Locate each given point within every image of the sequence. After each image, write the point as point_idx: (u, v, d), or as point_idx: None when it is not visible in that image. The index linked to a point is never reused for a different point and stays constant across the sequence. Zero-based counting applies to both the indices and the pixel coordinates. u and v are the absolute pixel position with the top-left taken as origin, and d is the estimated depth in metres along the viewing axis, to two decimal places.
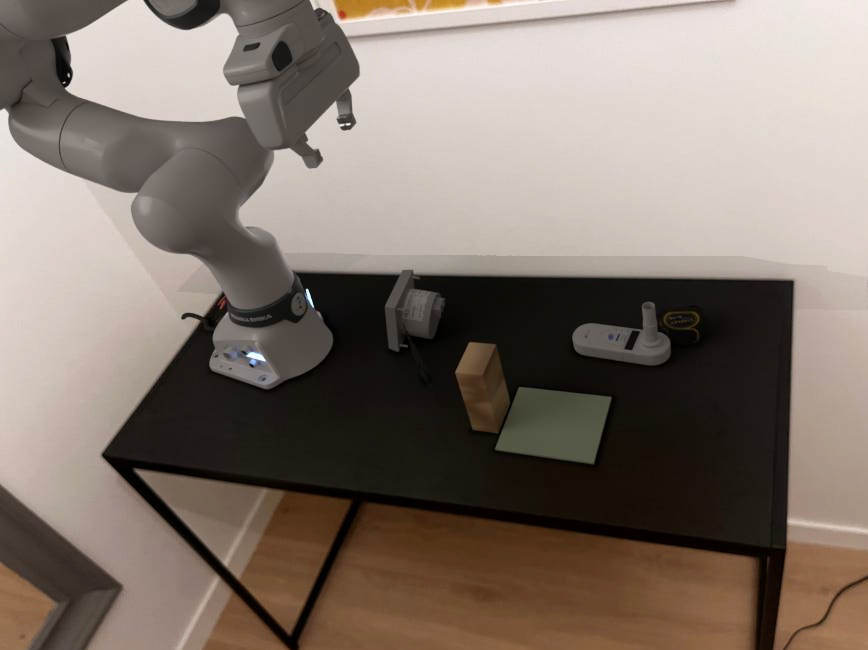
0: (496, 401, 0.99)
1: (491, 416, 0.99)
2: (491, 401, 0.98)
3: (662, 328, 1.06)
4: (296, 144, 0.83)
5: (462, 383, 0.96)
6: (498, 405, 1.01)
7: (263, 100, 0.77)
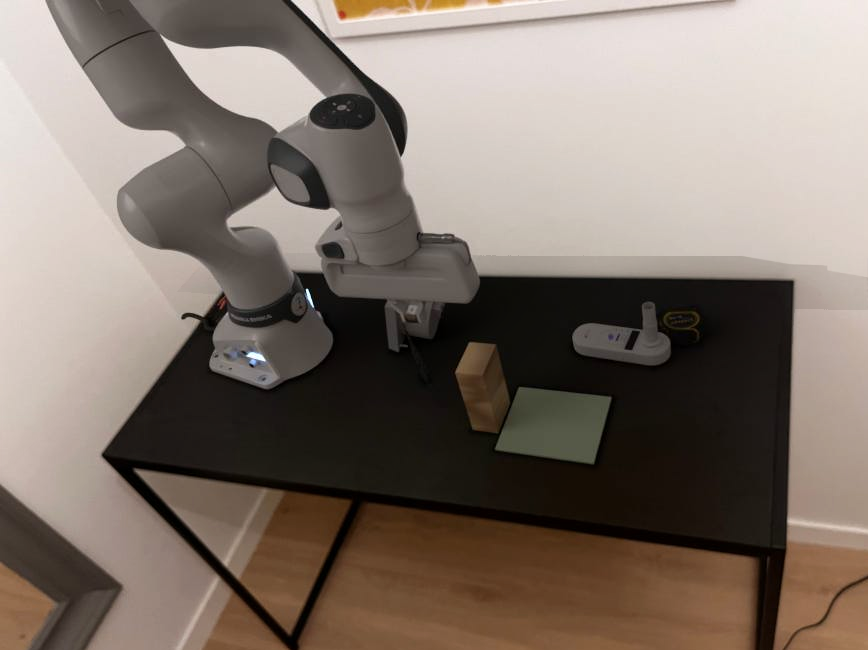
0: (496, 401, 0.99)
1: (491, 416, 0.99)
2: (491, 401, 0.98)
3: (662, 328, 1.06)
4: None
5: (462, 383, 0.96)
6: (498, 405, 1.01)
7: None
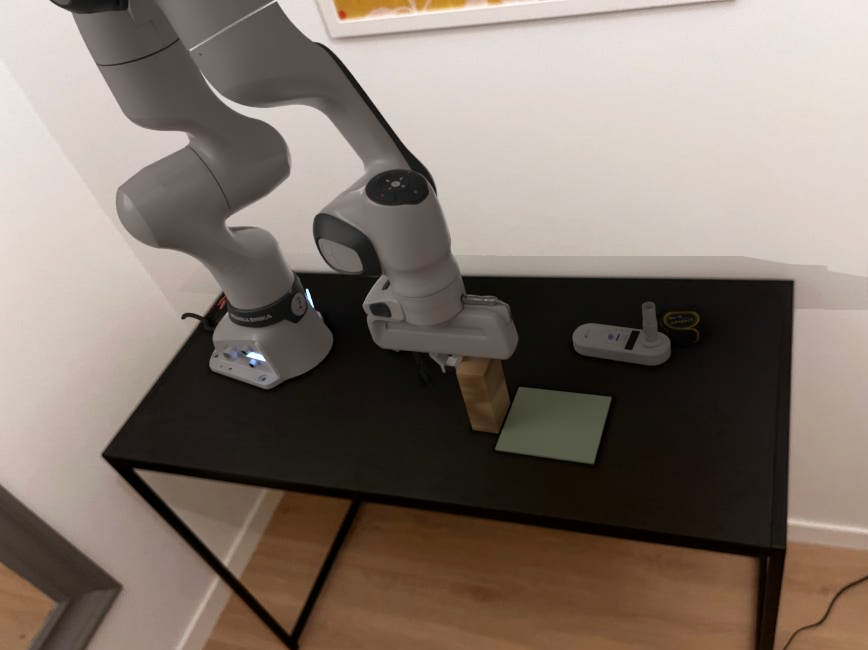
0: (496, 402, 0.99)
1: (492, 416, 0.99)
2: (491, 402, 0.98)
3: (662, 328, 1.06)
4: None
5: (463, 383, 0.96)
6: (498, 405, 1.01)
7: None
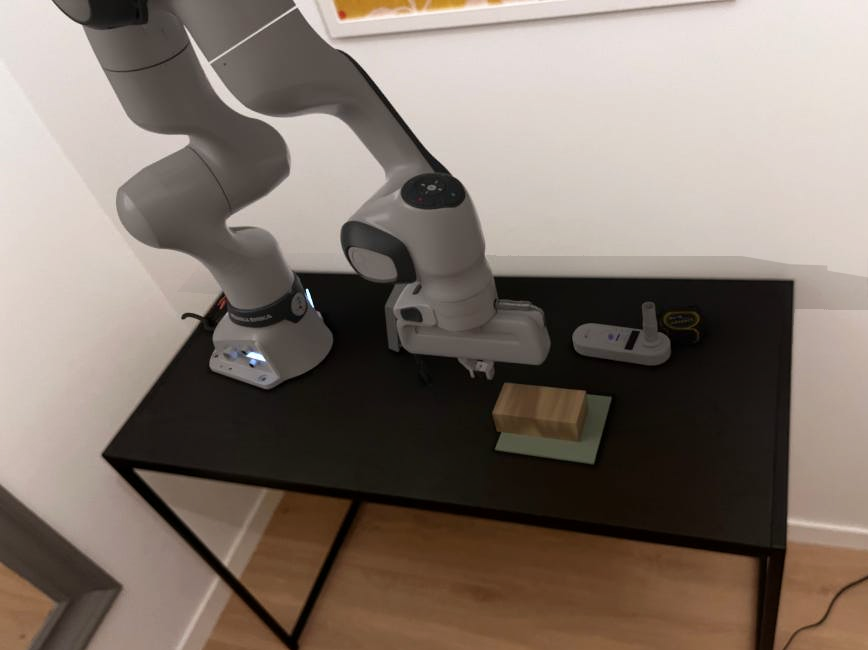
0: None
1: (521, 433, 1.00)
2: (540, 435, 0.99)
3: (662, 328, 1.06)
4: None
5: (561, 424, 0.96)
6: None
7: None
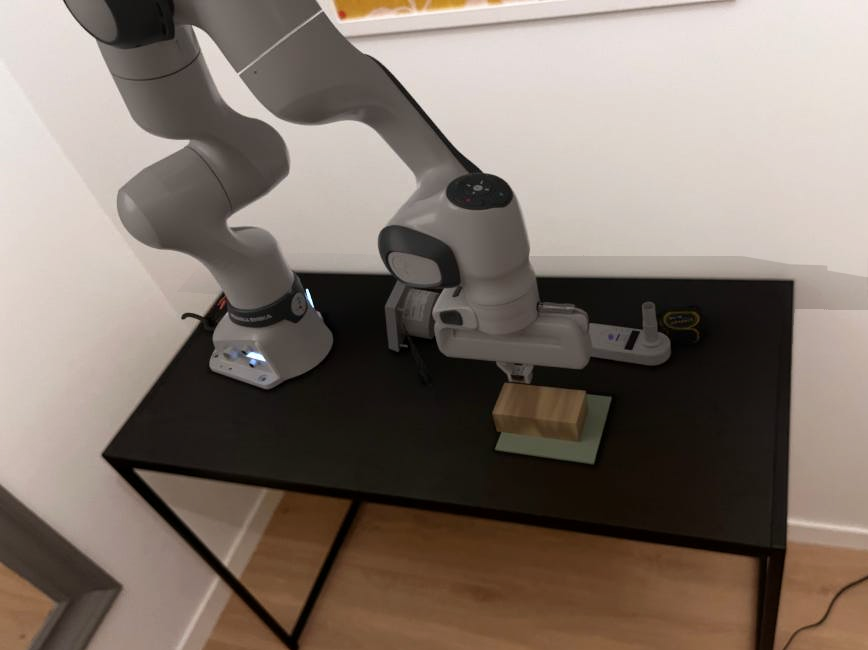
0: None
1: (521, 433, 1.00)
2: (540, 435, 0.99)
3: (662, 328, 1.06)
4: None
5: (561, 424, 0.96)
6: None
7: None
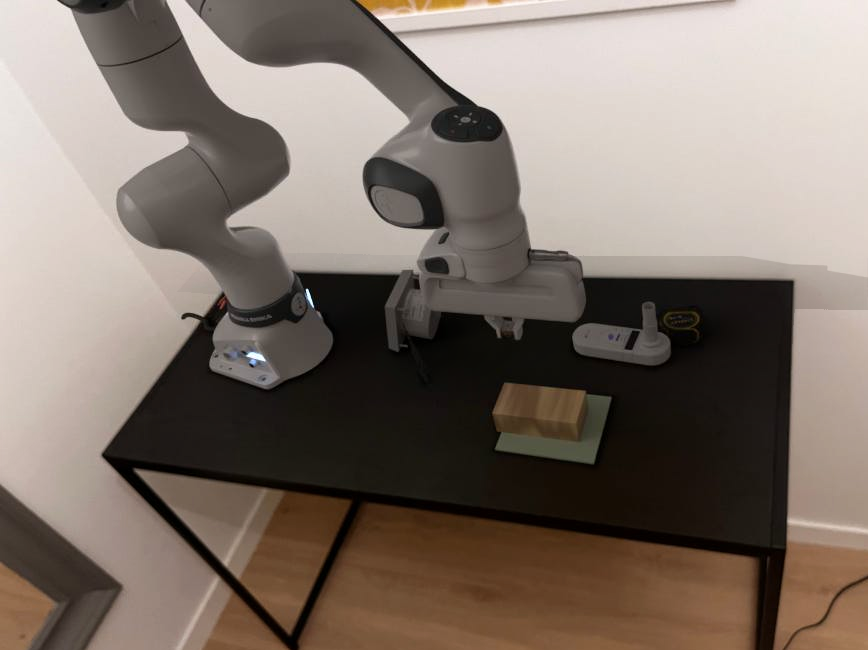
0: None
1: (521, 433, 1.00)
2: (540, 435, 0.99)
3: (662, 328, 1.06)
4: None
5: (561, 424, 0.96)
6: None
7: None
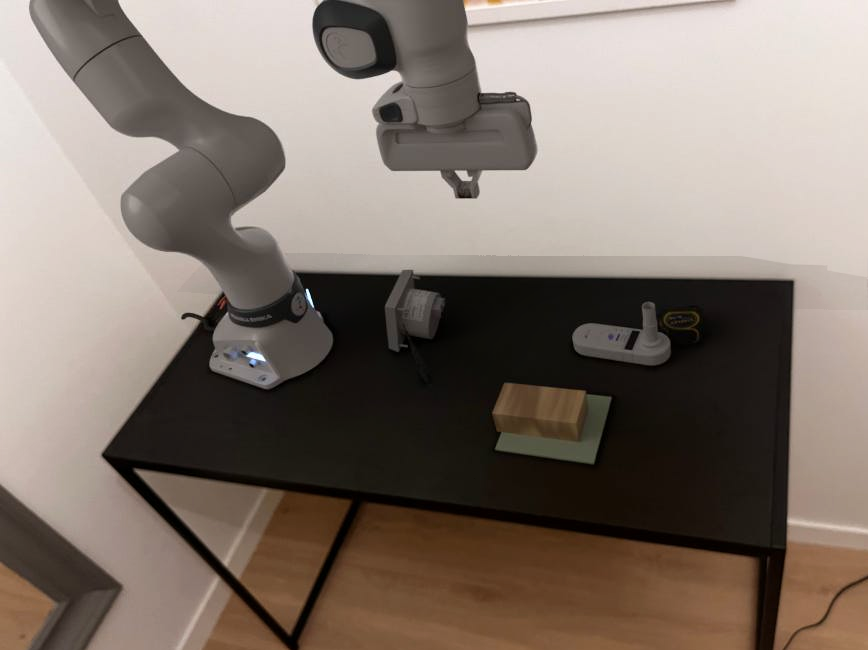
0: None
1: (521, 433, 1.00)
2: (540, 435, 0.99)
3: (662, 328, 1.06)
4: None
5: (561, 424, 0.96)
6: None
7: None
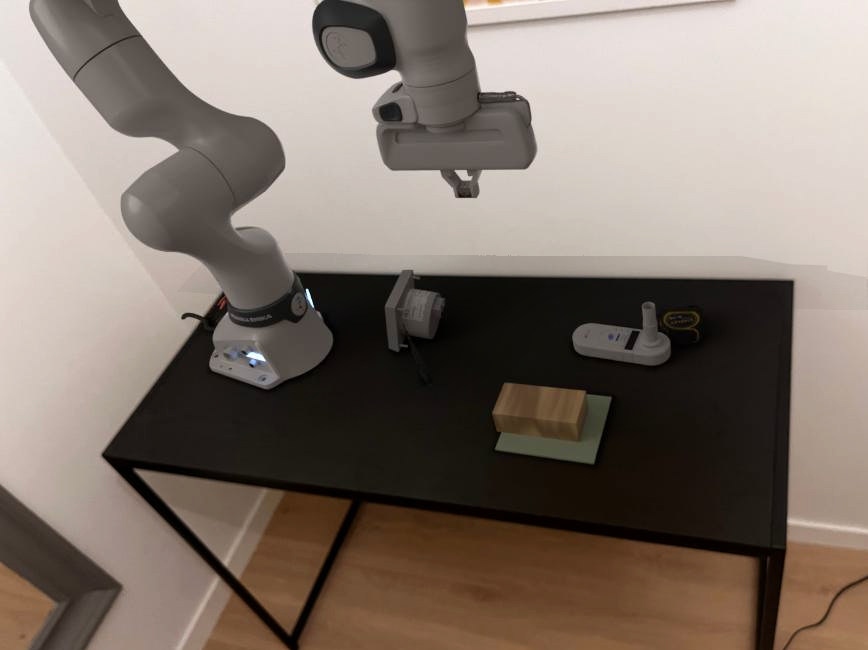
0: None
1: (521, 433, 1.00)
2: (540, 435, 0.99)
3: (662, 328, 1.06)
4: None
5: (561, 424, 0.96)
6: None
7: None
